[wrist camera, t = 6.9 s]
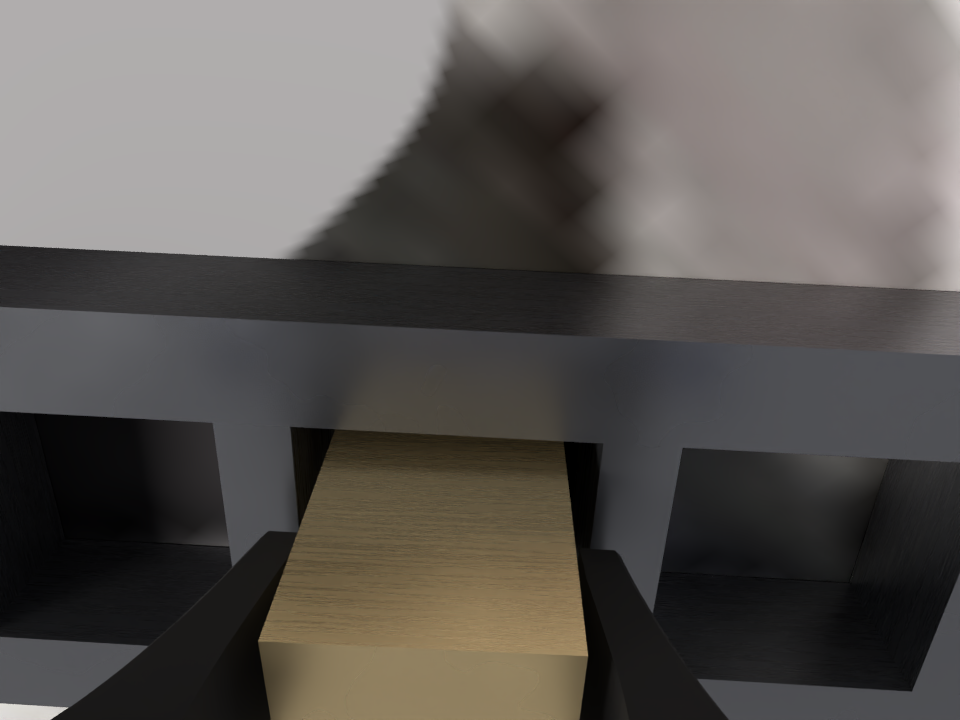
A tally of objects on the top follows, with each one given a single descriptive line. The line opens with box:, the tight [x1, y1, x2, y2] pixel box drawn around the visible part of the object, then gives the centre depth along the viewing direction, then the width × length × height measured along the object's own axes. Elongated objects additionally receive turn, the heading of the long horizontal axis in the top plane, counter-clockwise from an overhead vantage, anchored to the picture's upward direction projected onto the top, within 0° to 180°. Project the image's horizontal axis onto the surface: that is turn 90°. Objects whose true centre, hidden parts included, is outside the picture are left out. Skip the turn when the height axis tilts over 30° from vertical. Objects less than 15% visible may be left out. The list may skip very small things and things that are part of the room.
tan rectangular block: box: [258, 429, 588, 720], centre depth 13 cm, size 4×4×7 cm
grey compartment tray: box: [0, 245, 960, 720], centre depth 15 cm, size 22×9×3 cm, turn 88°
